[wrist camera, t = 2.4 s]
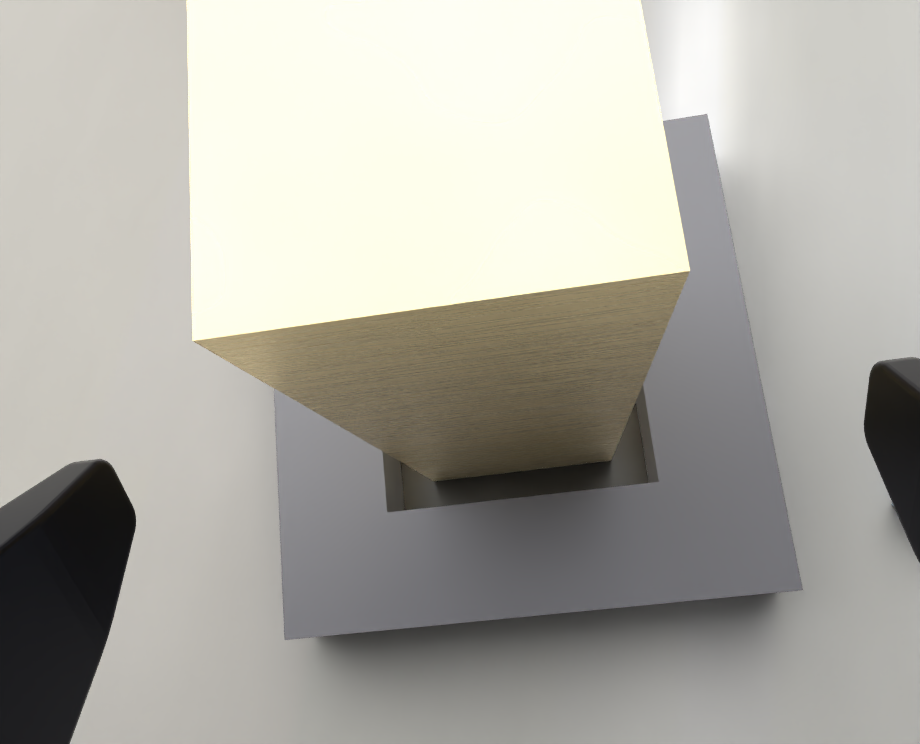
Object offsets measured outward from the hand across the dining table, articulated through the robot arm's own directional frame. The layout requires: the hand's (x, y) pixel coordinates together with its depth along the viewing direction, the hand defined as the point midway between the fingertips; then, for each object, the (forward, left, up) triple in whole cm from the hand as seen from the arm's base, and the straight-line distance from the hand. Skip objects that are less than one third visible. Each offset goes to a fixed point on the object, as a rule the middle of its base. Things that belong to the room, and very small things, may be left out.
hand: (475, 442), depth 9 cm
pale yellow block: (+2, +2, -10) cm, 11 cm away
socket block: (+2, +2, -10) cm, 11 cm away
